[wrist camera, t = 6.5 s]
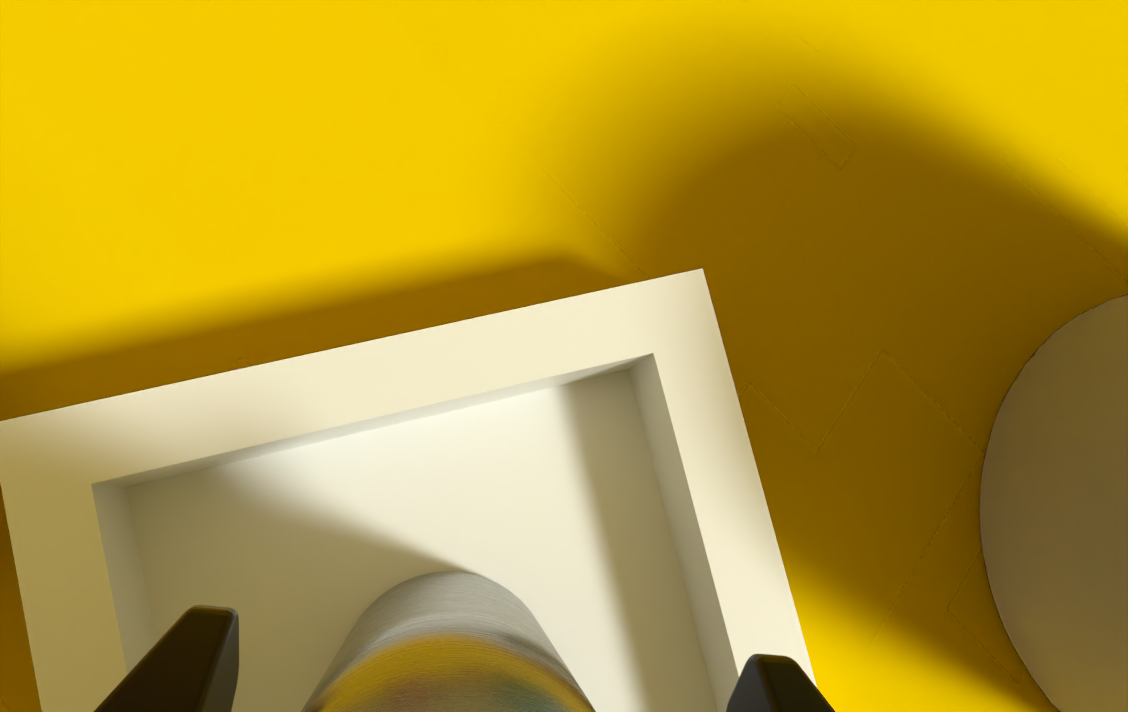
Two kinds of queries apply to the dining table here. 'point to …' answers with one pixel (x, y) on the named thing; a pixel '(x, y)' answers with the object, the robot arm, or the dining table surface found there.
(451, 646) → the strut
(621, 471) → the bin tray
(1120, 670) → the coffee mug
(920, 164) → the dining table surface
